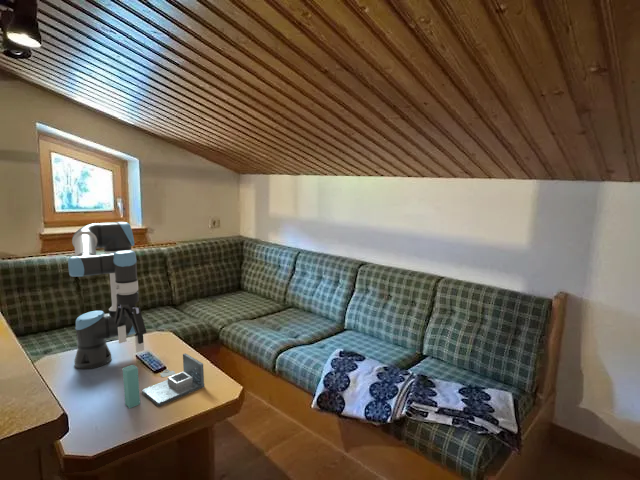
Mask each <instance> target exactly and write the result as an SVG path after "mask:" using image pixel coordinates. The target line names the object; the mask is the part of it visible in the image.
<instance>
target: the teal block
mask: <svg viewBox="0 0 640 480" xmlns="http://www.w3.org/2000/svg"><path fill="white" fill-rule="evenodd" d="M122 378H123V380H122V381H123V392H124V395H123V396H124V405H125V406H126V405H127V406H126V407H128V408H129V409H131V408H134V407H136V406H139V405H141V399H140V398H141V395H140V394H141V393H140V382H139V381H140V380H139V368H138V366H136V365H135V364H131V365H128V366H125V367H123V368H122Z"/></svg>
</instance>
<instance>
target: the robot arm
mask: <svg viewBox="0 0 640 480" xmlns="http://www.w3.org/2000/svg"><path fill="white" fill-rule="evenodd" d="M132 229H133V228H132V226H131V224H130V223H129V222H126V221H116V222H115V221H114V222H100V223H99V222H97V223H96V222H93V223H88V224H87V225H83V226H82V227H80V228H79V229H78V230H76V232H74V234H73V235H72V238H71V239H72V240H71V241H72V242H71V243H72V246H73V247H74V256H71V257H68V259H67V263H68V264H67V265H68V275H69V276H70V277H73V278H75V277H77V278H78V277H80V278H81V277H87V276H89V277H90V276H97V275H107V274H108V275H109V282H110V295H111V306H110V307H109V308H108V313H105V312H104V311H103V310H93V311H88V312H86V313H82V314H80V315H79V316H78V317H77V318H76V319H75V327H74V329H75V332H76V345H77V350H76V353H75V358H74V359H73V360H74V367H75V368H77V369H80V370H89V369H97V368H99V367H102V366H105V365H106V364H108V363H109V362H111V361H112V352H111V350H110V349H109V346H108V344H107V340H108V339H112V338H118V344H123V343H126V342H127V336H131V335H134V341H135V352H136V353H140V352H143V351H145V346H144V345H145V342H144V335H145V334H147V329H146V325H145V322H144V318H143V315H142V310H141V307H140V306H139V307H137V305H136V304H137V303H139V301H140V299H139V279H138V271H137V269H138V267H137V266H138V265H137V262H138V260H137V256H136V252H135V251H134V250H132V247H134V246H135V238H134V233H133V230H132ZM97 249H103V252H104V254H97Z"/></svg>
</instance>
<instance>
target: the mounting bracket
mask: <svg viewBox="0 0 640 480" xmlns="http://www.w3.org/2000/svg"><path fill="white" fill-rule="evenodd" d="M159 374H160V377H161V378H165V377H167V378H168V377H170V376H172V375H175V374H177V373H176V372H175V370H171V371H170V369H164V370H163V371H162V372H160V373H159Z"/></svg>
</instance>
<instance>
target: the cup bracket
mask: <svg viewBox="0 0 640 480" xmlns="http://www.w3.org/2000/svg"><path fill="white" fill-rule="evenodd" d="M182 362H183V363H182V365H183V371H181V372H178V373H176V374H174V375H171V376H167V379H166V380H163V381H161V382H159V383H155V384H153V385H150V386H148V387H146V388H143V389H141V394H142V395H144V396H145V397H146V398H147V399H149V400H150V401H151V402H152V403H154V404H155V406H157V407H162V406H165V405H166V404H169V403H171V402H173V401H175V400H176V401H177V399H180V398H182V397H184V396H187V395H189V394H191V393H194V392H196V391H198V390H200V389H203V388H205V376H204V363H203V362H201V361H199V360H197V359H196V358H194V357H193V356H190V355H189V354H187V353H183V354H182Z"/></svg>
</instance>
